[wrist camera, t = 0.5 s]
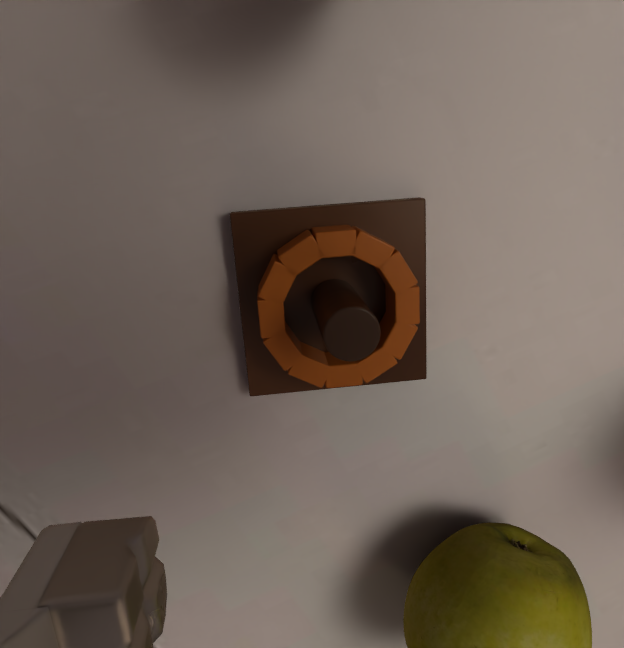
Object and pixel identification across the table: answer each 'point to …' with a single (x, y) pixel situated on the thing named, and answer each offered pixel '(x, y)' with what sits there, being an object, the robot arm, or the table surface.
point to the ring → (393, 325)
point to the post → (329, 287)
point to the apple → (496, 594)
